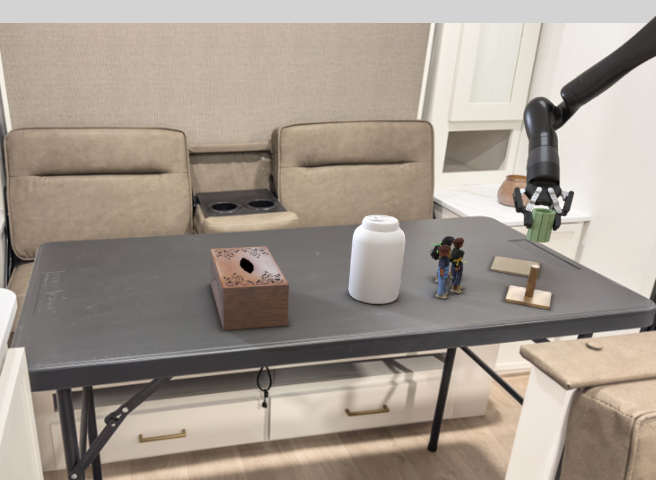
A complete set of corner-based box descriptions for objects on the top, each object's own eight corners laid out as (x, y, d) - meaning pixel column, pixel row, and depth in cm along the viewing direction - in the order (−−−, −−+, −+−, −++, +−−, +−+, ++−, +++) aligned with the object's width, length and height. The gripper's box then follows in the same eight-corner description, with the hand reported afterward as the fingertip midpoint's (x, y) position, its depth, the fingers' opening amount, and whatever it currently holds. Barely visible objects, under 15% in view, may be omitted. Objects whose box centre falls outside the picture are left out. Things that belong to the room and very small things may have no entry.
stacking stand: (551, 295, 148) (558, 263, 144) (549, 309, 140) (557, 276, 136) (509, 287, 152) (515, 256, 148) (504, 301, 144) (511, 269, 140)
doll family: (470, 305, 141) (479, 253, 136) (431, 302, 143) (439, 250, 137) (457, 271, 162) (464, 225, 157) (423, 269, 164) (430, 223, 158)
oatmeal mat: (539, 264, 168) (539, 262, 168) (536, 278, 158) (537, 276, 158) (495, 257, 173) (495, 255, 173) (490, 270, 163) (490, 268, 163)
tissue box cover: (287, 325, 130) (289, 284, 126) (223, 330, 128) (222, 288, 124) (265, 282, 153) (266, 246, 149) (211, 285, 151) (210, 248, 147)
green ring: (549, 237, 144) (556, 209, 141) (548, 243, 140) (555, 214, 137) (527, 234, 146) (533, 206, 143) (525, 240, 142) (531, 211, 139)
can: (340, 298, 144) (346, 220, 136) (358, 282, 154) (365, 208, 146) (389, 309, 139) (398, 228, 130) (404, 291, 148) (414, 216, 140)
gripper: (516, 158, 144) (514, 218, 138) (579, 161, 141) (580, 223, 135) (509, 175, 151) (506, 233, 145) (569, 179, 148) (569, 238, 142)
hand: (542, 228), depth 140 cm, fingers closed on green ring, 5 cm apart
